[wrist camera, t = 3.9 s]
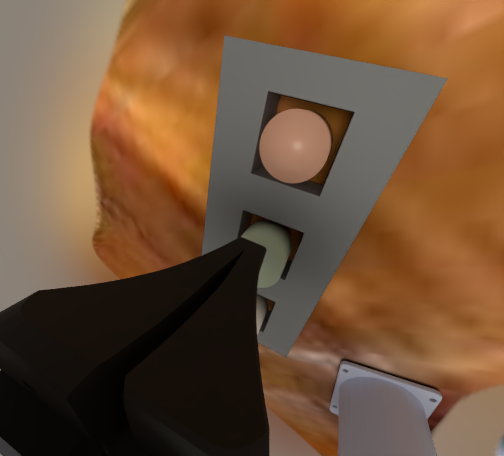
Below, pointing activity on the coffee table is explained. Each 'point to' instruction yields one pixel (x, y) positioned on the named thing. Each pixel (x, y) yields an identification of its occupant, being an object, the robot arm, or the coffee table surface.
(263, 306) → the cream button
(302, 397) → the coffee table surface
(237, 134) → the button panel
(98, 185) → the coffee table surface
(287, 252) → the sage button
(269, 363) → the coffee table surface
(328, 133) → the terracotta button
